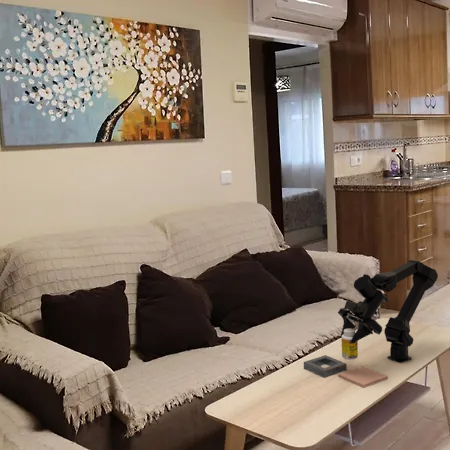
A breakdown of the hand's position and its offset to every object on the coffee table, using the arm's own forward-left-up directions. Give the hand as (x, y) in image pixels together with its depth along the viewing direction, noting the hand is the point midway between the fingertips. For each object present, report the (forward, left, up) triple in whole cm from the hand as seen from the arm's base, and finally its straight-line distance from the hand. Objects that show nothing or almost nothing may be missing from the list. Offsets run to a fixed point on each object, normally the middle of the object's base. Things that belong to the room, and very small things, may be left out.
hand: (346, 340), depth 210 cm
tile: (-3, +5, -13) cm, 14 cm away
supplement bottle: (-1, 0, -7) cm, 7 cm away
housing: (+2, -9, -13) cm, 16 cm away
